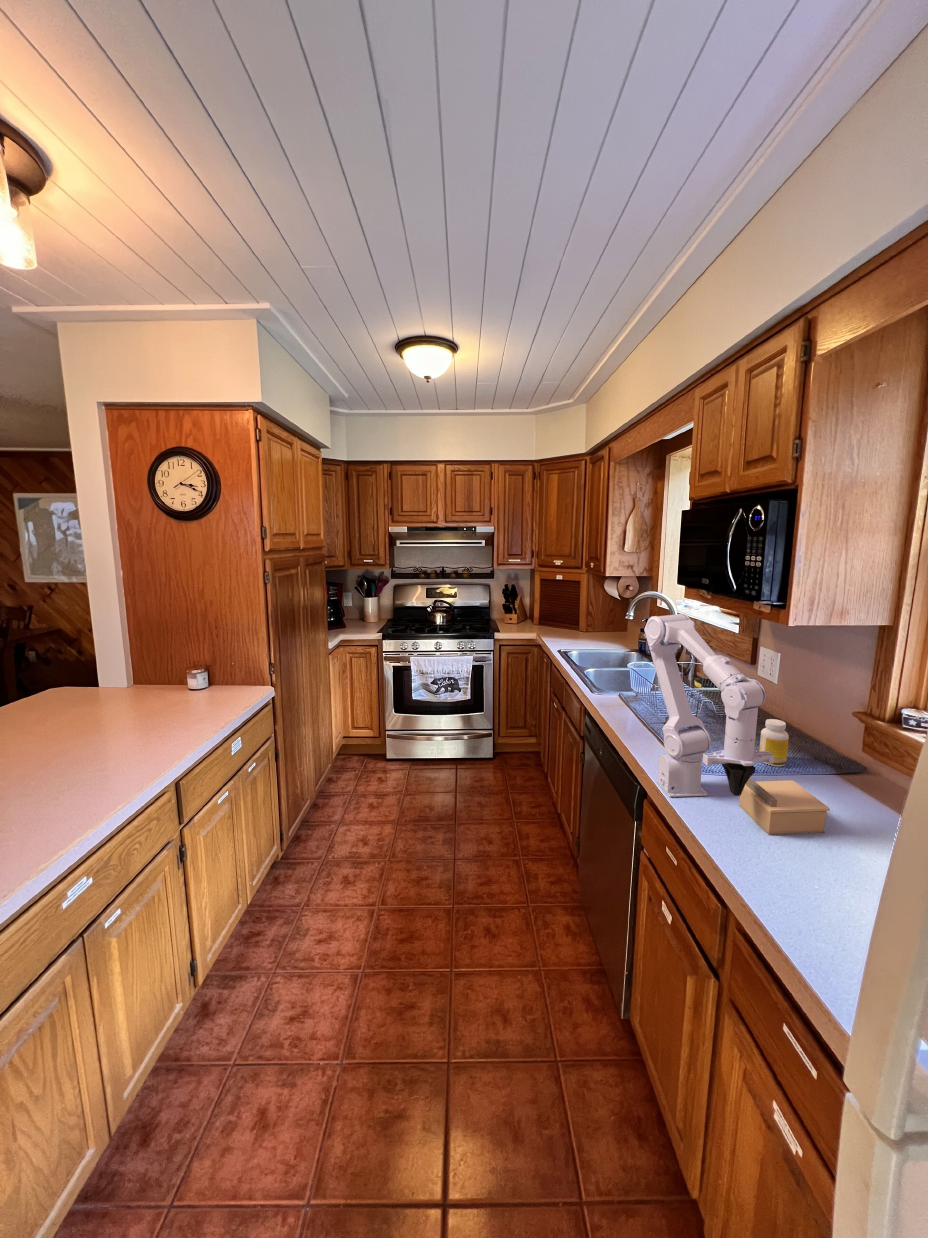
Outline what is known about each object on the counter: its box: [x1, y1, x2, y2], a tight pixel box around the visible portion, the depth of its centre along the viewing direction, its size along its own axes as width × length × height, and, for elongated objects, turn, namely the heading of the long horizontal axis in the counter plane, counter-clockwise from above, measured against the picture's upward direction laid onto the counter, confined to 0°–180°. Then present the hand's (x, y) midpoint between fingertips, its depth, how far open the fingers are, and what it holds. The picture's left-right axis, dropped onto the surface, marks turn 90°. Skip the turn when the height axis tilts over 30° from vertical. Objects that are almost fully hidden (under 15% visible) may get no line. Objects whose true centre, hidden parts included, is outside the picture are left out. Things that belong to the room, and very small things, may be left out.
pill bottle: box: [759, 718, 790, 768], centre depth 135 cm, size 6×6×12 cm
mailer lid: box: [744, 778, 831, 813], centre depth 109 cm, size 13×12×2 cm
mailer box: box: [738, 789, 828, 836], centre depth 110 cm, size 12×11×5 cm
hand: (735, 793), depth 109 cm, fingers closed
